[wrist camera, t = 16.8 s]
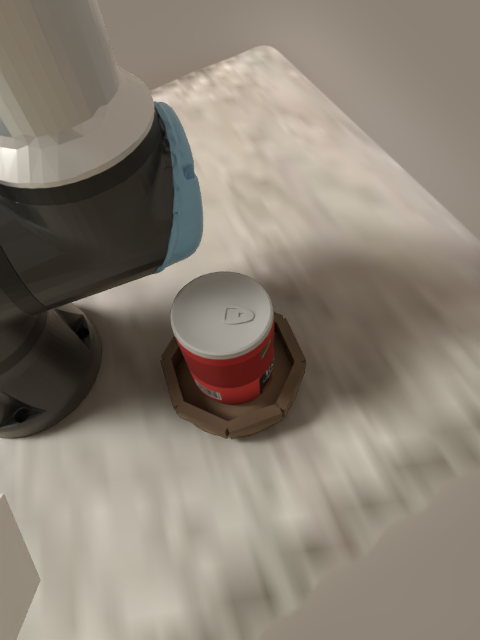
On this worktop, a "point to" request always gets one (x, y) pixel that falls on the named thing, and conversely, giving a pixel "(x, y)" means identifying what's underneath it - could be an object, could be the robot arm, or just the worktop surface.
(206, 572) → the worktop surface
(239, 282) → the canned food
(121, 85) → the robot arm
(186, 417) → the walnut tray
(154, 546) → the worktop surface
